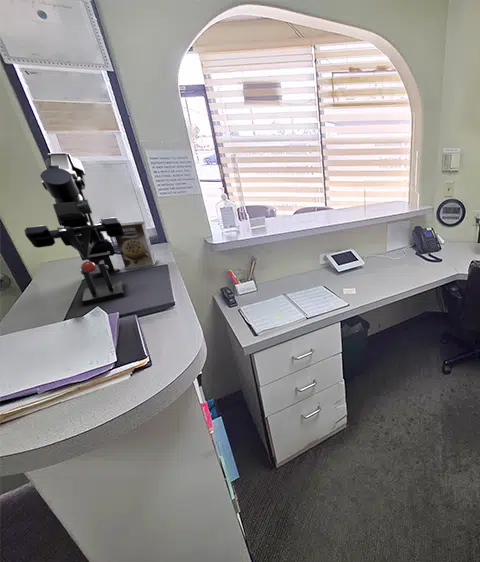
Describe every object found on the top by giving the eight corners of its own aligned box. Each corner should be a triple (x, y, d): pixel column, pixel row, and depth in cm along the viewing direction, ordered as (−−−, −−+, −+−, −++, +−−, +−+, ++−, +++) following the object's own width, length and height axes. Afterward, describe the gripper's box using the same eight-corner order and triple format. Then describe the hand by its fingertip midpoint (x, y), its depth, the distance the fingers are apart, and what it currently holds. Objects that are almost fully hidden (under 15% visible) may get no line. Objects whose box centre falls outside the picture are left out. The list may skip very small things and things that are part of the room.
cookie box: (125, 269, 114) (109, 226, 108) (128, 265, 119) (114, 223, 113) (154, 265, 118) (141, 223, 112) (156, 261, 123) (144, 220, 117)
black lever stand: (124, 296, 91) (112, 264, 87) (83, 305, 85) (69, 272, 82) (122, 285, 99) (111, 256, 96) (85, 293, 94) (73, 262, 90)
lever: (96, 270, 80) (93, 260, 80) (82, 273, 79) (78, 262, 78) (103, 273, 92) (99, 264, 91) (90, 275, 90) (87, 266, 90)
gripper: (8, 193, 73) (20, 247, 69) (108, 187, 84) (123, 233, 80) (29, 222, 82) (41, 271, 78) (117, 213, 93) (131, 256, 89)
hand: (85, 257), depth 81 cm, fingers closed
